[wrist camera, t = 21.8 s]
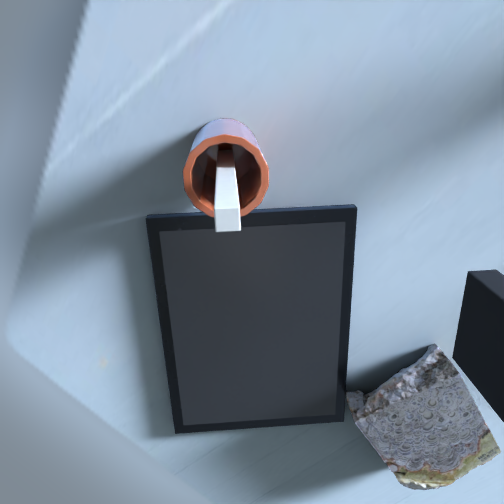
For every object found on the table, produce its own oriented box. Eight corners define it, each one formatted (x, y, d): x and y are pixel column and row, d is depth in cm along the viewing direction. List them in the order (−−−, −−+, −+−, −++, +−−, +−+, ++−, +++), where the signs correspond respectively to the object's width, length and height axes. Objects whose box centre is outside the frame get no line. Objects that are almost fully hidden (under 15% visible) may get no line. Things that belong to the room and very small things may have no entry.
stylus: (218, 162, 35) (215, 232, 21) (217, 147, 35) (213, 208, 20) (233, 161, 35) (240, 231, 21) (232, 146, 35) (239, 207, 20)
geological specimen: (454, 364, 40) (514, 467, 44) (426, 330, 45) (481, 424, 50) (352, 420, 41) (420, 514, 46) (336, 380, 47) (398, 468, 52)
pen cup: (195, 186, 37) (187, 222, 29) (189, 118, 35) (179, 136, 27) (259, 183, 37) (269, 217, 29) (257, 116, 35) (267, 132, 27)
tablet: (176, 426, 47) (175, 434, 46) (147, 214, 38) (145, 218, 37) (341, 414, 48) (343, 422, 47) (354, 204, 38) (357, 207, 37)
